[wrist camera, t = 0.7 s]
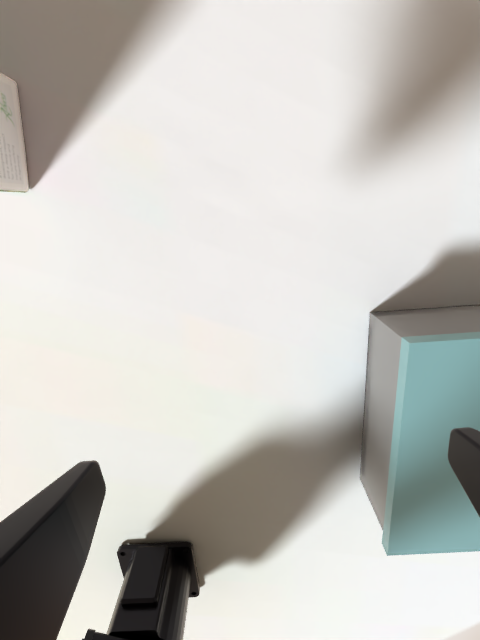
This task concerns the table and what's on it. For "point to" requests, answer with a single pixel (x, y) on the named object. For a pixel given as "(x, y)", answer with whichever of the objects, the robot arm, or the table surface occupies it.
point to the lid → (432, 446)
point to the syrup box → (11, 139)
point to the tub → (383, 383)
